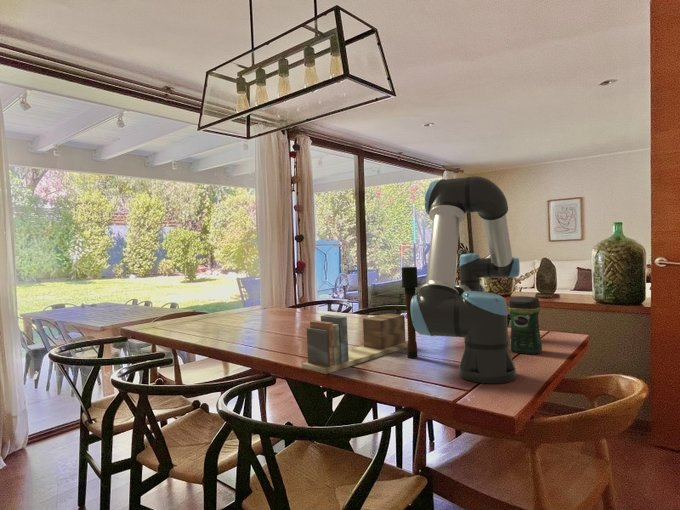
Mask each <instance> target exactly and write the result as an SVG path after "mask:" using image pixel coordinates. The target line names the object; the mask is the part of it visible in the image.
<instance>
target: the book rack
mask: <svg viewBox="0 0 680 510" xmlns="http://www.w3.org/2000/svg"><path fill="white" fill-rule="evenodd" d="M348 335H349V334H348V317H347V316H341V315H334V314H324V315H320V320H317V319H316V320H315V319H314V320H310V321H309V327H306V344H307V347H306V348H307V361H305V362H301V369H304V370H308V371H312V372H316V373H320V374H324V375H328V374H330V373H333V372H336V371H340V370H343V369H345V368H348V367H352V366H355V365H359V364H361V363H364V362H368V361H370V360H373V359H376V358H380V357H382V356H385V355H388V354H391V353H395V352H397V351H400V350H403V349H408V348H407V344H408V340H405V341H406V342H405V343H401V344H398V345H395V346H392V347H389V348H385V349H382V350H380V349H374V348H369V347H364V344H363V345H360V346H357V347H353V348H350V349H349V341H348Z"/></svg>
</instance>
